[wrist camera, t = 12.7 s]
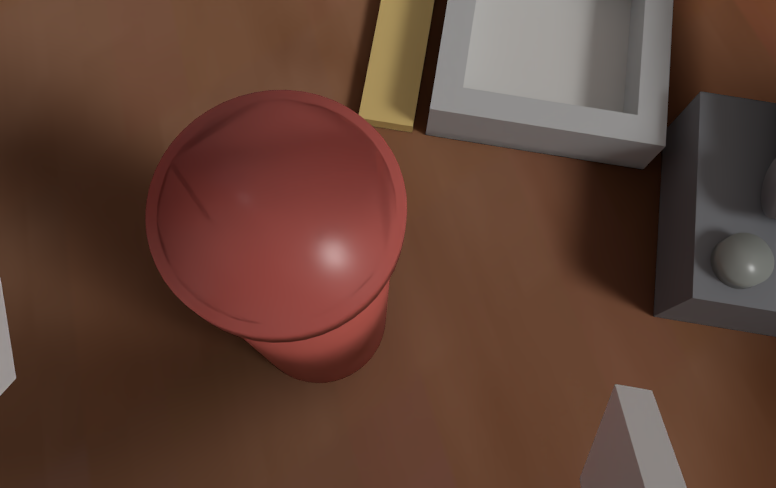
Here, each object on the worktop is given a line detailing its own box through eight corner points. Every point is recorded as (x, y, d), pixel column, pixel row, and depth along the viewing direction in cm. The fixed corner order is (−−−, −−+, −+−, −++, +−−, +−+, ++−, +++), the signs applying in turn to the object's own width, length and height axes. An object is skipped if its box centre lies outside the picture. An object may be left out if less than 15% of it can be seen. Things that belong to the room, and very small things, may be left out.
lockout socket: (358, 124, 25) (357, 97, 23) (393, -55, 28) (394, -93, 26) (643, 169, 25) (665, 146, 23) (654, -15, 27) (675, -51, 25)
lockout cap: (219, 326, 23) (89, 222, 13) (314, 221, 24) (267, 45, 14) (328, 420, 22) (287, 393, 12) (420, 307, 23) (459, 190, 13)
